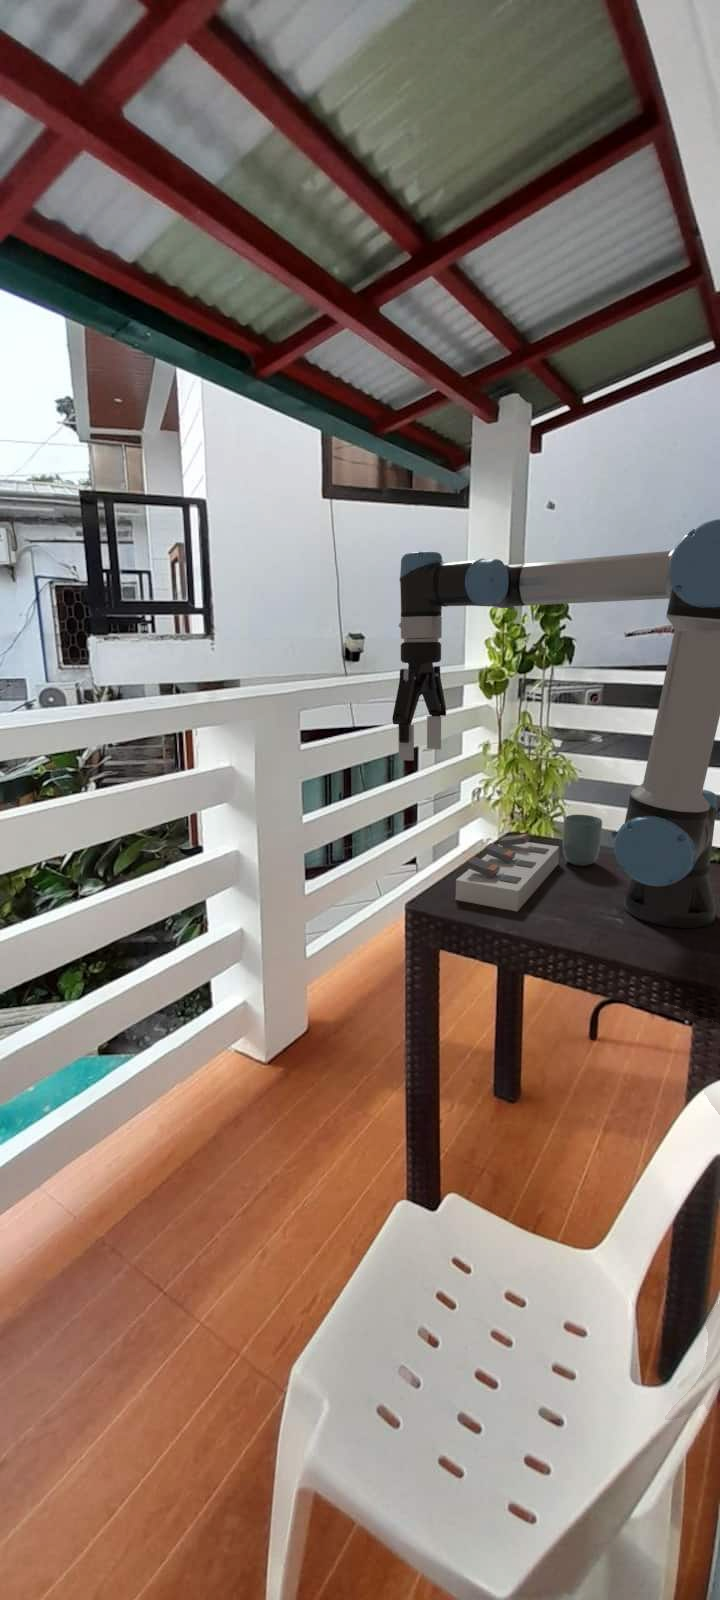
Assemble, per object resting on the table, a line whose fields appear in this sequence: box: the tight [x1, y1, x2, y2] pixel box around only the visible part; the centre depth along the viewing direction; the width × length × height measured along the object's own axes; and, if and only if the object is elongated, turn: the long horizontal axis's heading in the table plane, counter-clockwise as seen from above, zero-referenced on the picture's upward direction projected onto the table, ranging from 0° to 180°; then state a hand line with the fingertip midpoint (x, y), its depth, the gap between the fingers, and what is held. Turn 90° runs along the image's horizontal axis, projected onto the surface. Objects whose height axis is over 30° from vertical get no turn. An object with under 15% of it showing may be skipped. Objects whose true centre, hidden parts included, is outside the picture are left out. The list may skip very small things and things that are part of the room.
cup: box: [562, 814, 603, 867], centre depth 152 cm, size 8×8×10 cm
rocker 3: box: [498, 833, 531, 846], centre depth 151 cm, size 6×4×1 cm, turn 60°
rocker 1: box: [465, 855, 500, 878], centre depth 134 cm, size 6×4×1 cm, turn 61°
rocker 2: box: [483, 842, 516, 863], centre depth 143 cm, size 6×4×1 cm, turn 61°
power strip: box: [455, 841, 560, 912], centre depth 146 cm, size 12×39×4 cm, turn 151°
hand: (420, 754), depth 134 cm, fingers open, 13 cm apart
